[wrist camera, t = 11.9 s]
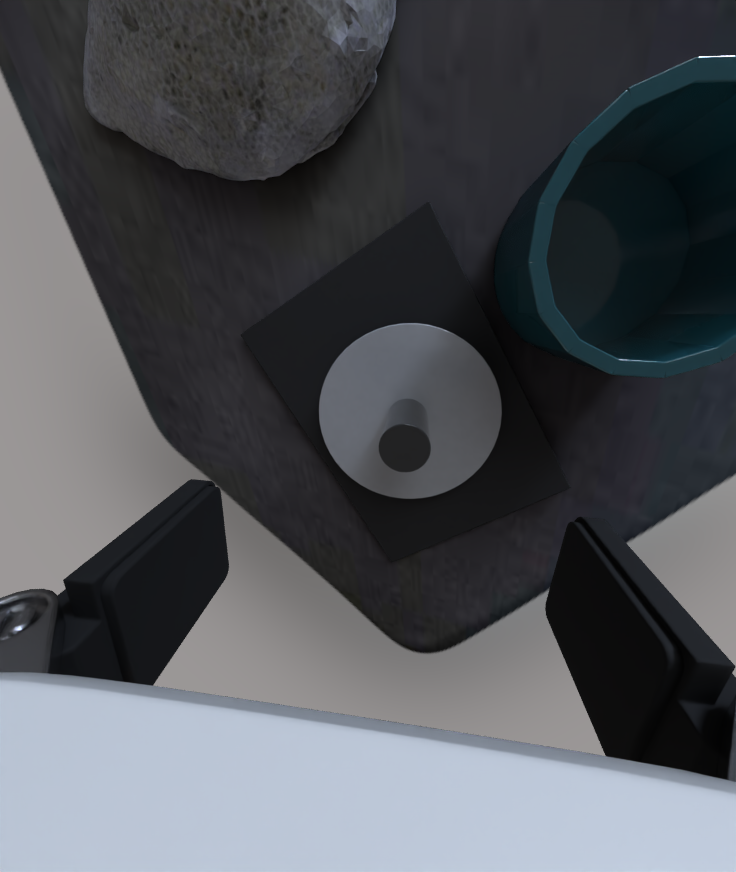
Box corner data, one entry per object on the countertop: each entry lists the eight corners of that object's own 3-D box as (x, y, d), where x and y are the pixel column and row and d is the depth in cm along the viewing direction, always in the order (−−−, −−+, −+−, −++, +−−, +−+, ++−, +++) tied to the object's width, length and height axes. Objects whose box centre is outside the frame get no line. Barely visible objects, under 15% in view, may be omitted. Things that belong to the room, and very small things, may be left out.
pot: (510, 149, 19) (563, 58, 12) (726, 150, 18) (919, 50, 11) (480, 351, 23) (509, 368, 16) (661, 361, 22) (776, 385, 15)
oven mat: (244, 334, 25) (239, 334, 24) (428, 204, 21) (429, 201, 20) (392, 557, 29) (391, 562, 28) (567, 483, 25) (571, 487, 25)
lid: (323, 317, 23) (288, 320, 17) (512, 327, 22) (551, 334, 15) (322, 482, 27) (293, 535, 21) (483, 498, 26) (504, 560, 19)
